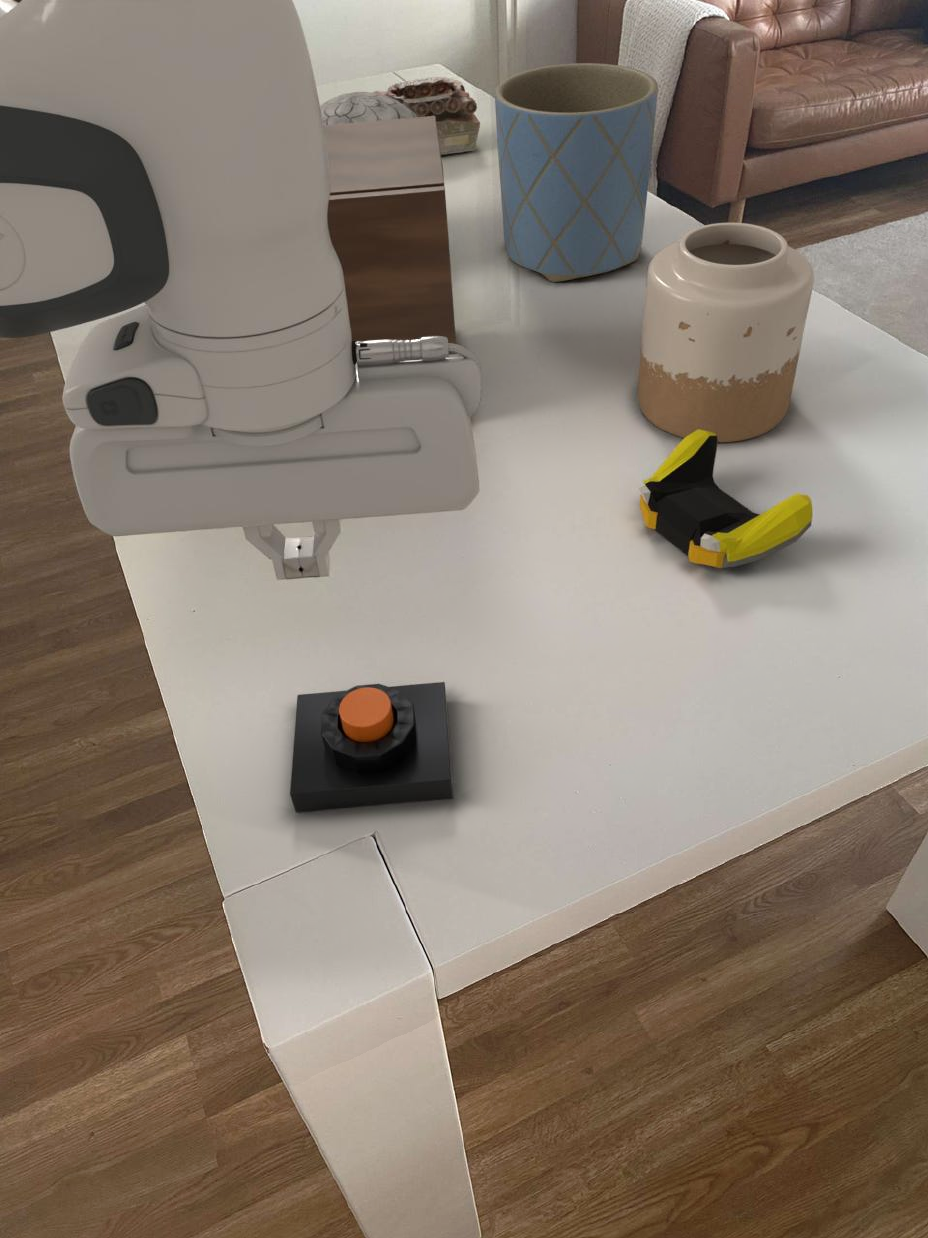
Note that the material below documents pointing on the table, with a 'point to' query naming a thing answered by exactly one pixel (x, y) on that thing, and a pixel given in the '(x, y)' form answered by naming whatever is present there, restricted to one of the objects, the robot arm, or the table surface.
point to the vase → (722, 331)
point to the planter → (575, 166)
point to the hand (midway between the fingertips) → (304, 571)
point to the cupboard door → (394, 263)
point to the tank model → (441, 110)
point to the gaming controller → (715, 510)
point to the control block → (372, 752)
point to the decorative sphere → (363, 109)
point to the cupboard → (383, 155)
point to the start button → (366, 714)
